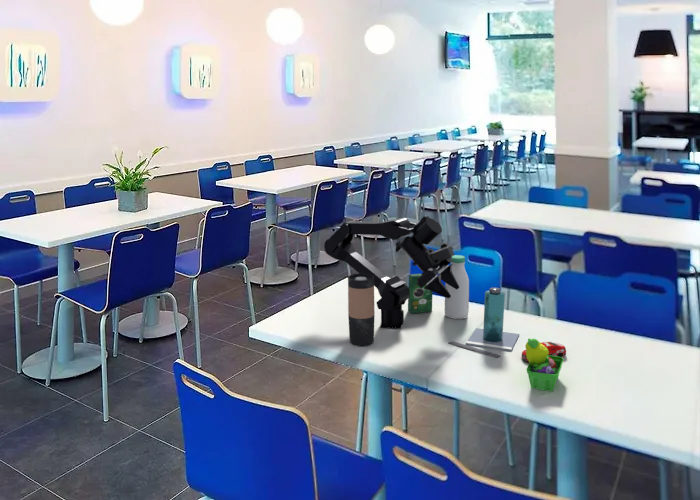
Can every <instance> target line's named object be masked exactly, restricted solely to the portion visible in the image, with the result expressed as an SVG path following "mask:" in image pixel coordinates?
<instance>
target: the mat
mask: <svg viewBox="0 0 700 500" xmlns="http://www.w3.org/2000/svg"><path fill="white" fill-rule="evenodd" d="M519 336H520V333H513V332H509V331H508V332H507V331H503V338H502V341H500V342H489V341H486V340H484V339H483V328H478V327H476V328H475V329H474V330H473V332H472V334H471V335H470V336H469V338H468V339H467V341H466V342H465V345H468V346H472V347H480V348H481V347H482V348H487V349H493V350H494V349H495V350H501V351H507V352H512V350H513V349H514V346H515V345H516V343H517V341H518V338H519Z"/></svg>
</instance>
